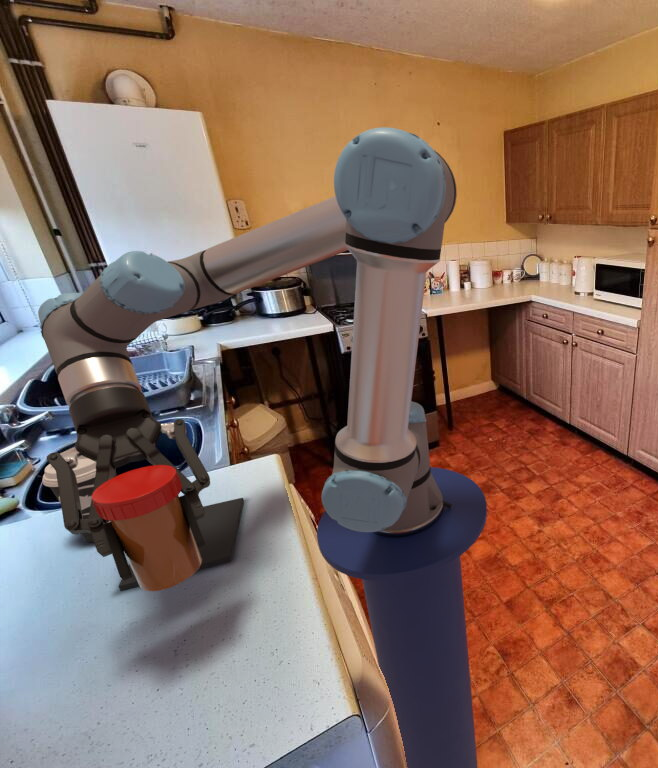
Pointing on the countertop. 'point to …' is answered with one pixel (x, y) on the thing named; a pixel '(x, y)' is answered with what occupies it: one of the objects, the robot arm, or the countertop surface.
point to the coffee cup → (84, 482)
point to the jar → (159, 546)
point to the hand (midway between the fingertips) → (165, 559)
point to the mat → (211, 536)
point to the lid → (136, 492)
